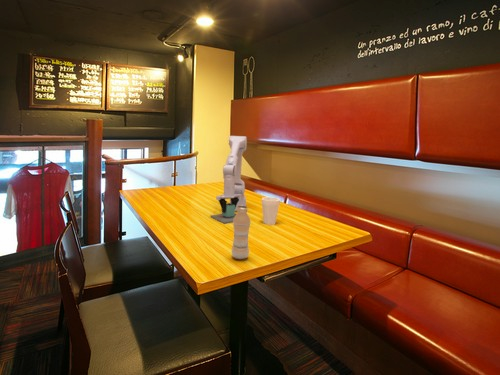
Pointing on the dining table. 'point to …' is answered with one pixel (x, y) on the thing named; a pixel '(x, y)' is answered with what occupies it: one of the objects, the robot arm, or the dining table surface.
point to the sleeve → (229, 210)
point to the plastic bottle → (241, 233)
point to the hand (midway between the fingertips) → (228, 211)
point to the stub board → (223, 218)
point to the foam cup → (270, 209)
